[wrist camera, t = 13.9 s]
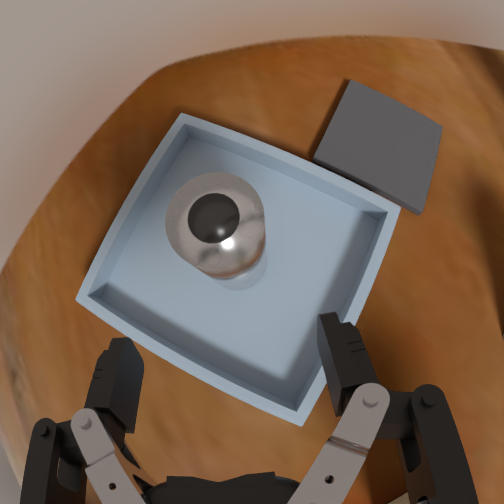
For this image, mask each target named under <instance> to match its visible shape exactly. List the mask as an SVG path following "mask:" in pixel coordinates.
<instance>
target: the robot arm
mask: <svg viewBox="0 0 504 504" xmlns="http://www.w3.org/2000/svg"><path fill="white" fill-rule="evenodd" d="M317 345H318V350H319V354H320V358H321V362H322V365H323V369H324V373H325V377H326V380H327V384H328V388H329V392H330V396H331V400H332V403H333V407H334V411H335V415H336V417H338V416H342V417H341V419H340V421H339V423H338V425H337V427H336V429H335V430H334V432H333V434H332V436H331V437H330V438H329V439H328V440H327V441H326V443H325V445H324V446H323V448H322V450H321V451H320V453H319V455H318V456H317V458H316V460H315V461H314V463H313V465H312V466H311V468H310V470H309V471H308V473H307V474H306V476H305V477H304V479H303V481H302V482H301V483H299V482H297V481H295V480H292V479H289V478H284V477H278V476H275V472H266V473H257V474H246V475H243V476H240V477H237V478H233V479H230V480H226V481H223V482H214V481H209V480H204V479H200V478H196V477H183V476H167V481H166V482H163V483H160V484H158V485H157V483H156V482H155V481H154V480H153V479H152V478H151V477H150V476H149V475H148V474H147V472H146V471H145V470H144V468H143V467H142V465H141V464H140V462H139V461H138V459H137V458H136V456H135V455H134V453H133V452H132V450H131V448H130V447H129V445H128V444H127V442H126V441H125V440H124V438H125V433H134V430H135V423H136V416H137V410H138V403H139V397H140V391H141V385H142V380H143V374H144V363H143V359H142V357H141V355H140V354H139V352H138V350H137V349H136V347H135V345H134V344H133V342H132V340H131V339H130V338H129V337H123V338H113V339H112V340H111V342H110V346H109V349H108V350H104V351H103V353H102V354H101V355H100V357H99V358H98V360H97V363H96V367H95V371H94V373H93V379H92V380H91V384H90V387H89V391H88V395H87V399H86V402H85V406H84V409H81V410H79V411H78V412H76V413H75V414H74V416H73V417H72V420H69V421H65V422H61V423H57V424H56V423H55V422H54V421H53V420H51V419H49V418H43V419H40V420H39V421H38V422H37V423H36V424H35V426H34V428H33V431H32V436H31V440H30V445H29V450H28V455H27V460H26V465H25V471H24V477H23V484H22V491H21V498H20V504H85V496H86V483H87V476H88V478H89V480H90V482H91V484H92V486H93V488H94V490H95V492H96V493H97V495H98V497H99V499H100V501H101V502H102V504H342V502H343V500H344V498H345V497H346V495H347V493H348V491H349V490H350V488H351V486H352V484H353V482H354V480H355V479H356V477H357V475H358V473H359V471H360V469H361V467H362V465H363V463H364V461H365V459H366V457H367V455H368V452H369V449H370V447H371V445H372V443H373V441H374V439H395V440H396V443H397V448H398V452H399V456H400V460H401V464H402V469H403V473H404V478H405V482H406V487H407V492H408V497H409V502H410V504H479V503H478V499H477V495H476V491H475V487H474V483H473V479H472V476H471V472H470V469H469V465H468V462H467V459H466V455H465V452H464V449H463V446H462V443H461V440H460V437H459V434H458V431H457V428H456V425H455V422H454V419H453V417H452V414H451V411H450V408H449V406H448V403H447V400H446V398H445V395H444V393H443V392H442V390H441V389H440V388H438V387H437V386H435V385H430V384H425V385H422V386H419V387H418V388H417V389H415V391H414V392H395V391H391V390H388V389H386V388H385V387H383V386H382V385H381V384H380V382H379V381H378V379H377V376H376V374H375V371H374V368H373V366H372V363H371V361H370V358H369V356H368V353H367V350H366V348H365V345H364V343H363V342H362V338H361V335H360V333H359V331H358V329H357V328H356V327H355V326H354V325H353V324H352V323H351V322H345V323H340V321H339V318H338V315H337V313H336V312H335V311H334V312H329V313H323V314H318V316H317ZM59 458H60V461H59ZM58 462H59V468H58ZM57 469H58V475H57Z"/></svg>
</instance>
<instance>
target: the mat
mask: <svg viewBox="0 0 504 504" xmlns="http://www.w3.org/2000/svg"><path fill="white" fill-rule="evenodd" d="M442 128H443V127H442V126H441V125H439V124H438V123H436V122H434V121H432V120H431V119H429V118H427V117H426V116H424V115H422V114H420V113H418V112H417V111H415V110H413V109H411V108H409V107H407V106H406V105H404V104H402V103H400V102H398V101H396V100H394V99H392V98H390V97H388V96H386V95H384V94H382V93H380V92H378V91H376V90H373V89H371V88H369V87H367V86H365V85H362V84H360V83H358V82H356V81H353V80H350V82H349V84H348V86H347V88H346V90H345V92H344V95H343V97H342V99H341V101H340V103H339V105H338V107H337V109H336V111H335V113H334V116H333V118H332V120H331V122H330V124H329V126H328V128H327V130H326V132H325V134H324V136H323V138H322V140H321V143H320V145H319V147H318V149H317V151H316V153H315V155H314V157H313V160H312V162H314V163H316V164H318V165H320V166H323V167H325V168H327V169H329V170H331V171H333V172H335V173H338V174H340V175H342V176H344V177H346V178H348V179H350V180H352V181H354V182H356V183H358V184H360V185H362V186H364V187H366V188H368V189H370V190H372V191H374V192H376V193H378V194H380V195H382V196H384V197H385V198H387V199H389V200H391V201H393V202H395V203H397V204H398V205H400V206H402V207H404V208H406V209H408V210H409V211H411V212H413V213H415V214H416V215H420V214H421V213H422V212H423V209H424V205H425V201H426V198H427V194H428V190H429V187H430V183H431V179H432V175H433V170H434V166H435V162H436V157H437V153H438V148H439V143H440V138H441V133H442Z"/></svg>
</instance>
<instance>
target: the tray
mask: <svg viewBox="0 0 504 504" xmlns="http://www.w3.org/2000/svg"><path fill="white" fill-rule="evenodd" d="M212 172H223V173H229V174H233V175H236V176H238V177H240V178H242V179H244V180H245V181H247V182H248V183H249V184H250V185H251V186H252V187H253V188H254V189H255V190H256V192H257V193H258V195H259V197H260V199H261V201H262V204H263V208H264V216H265V232H266V249H267V267H266V271H265V273H264V275H263V277H262V278H261V280H260V281H259V282H258V283H257V284H255V285H254V286H252V287H251V288H248V289H245V290H230V289H227V288H225V287H223V286H221V285H220V284H218V283H217V282H215V281H214V280H213V279H211V278H210V277H208V276H207V275H205V274H204V273H202V272H201V271H199V270H198V269H197V268H195V267H194V266H192V265H191V264H189V263H188V262H186V261H185V260H184V259H182V258H181V257H180V256H179V255H178V254H177V253H176V252H175V251H174V249H173V248H172V246H171V244H170V242H169V240H168V237H167V234H166V229H165V218H166V212H167V209H168V206H169V203H170V201H171V199H172V198H173V196H174V195H175V193H176V192H177V191H178V190H179V189H180V188H181V187H182V186H183V185H184V184H185V183H187V182H188V181H189V180H191V179H193V178H195V177H197V176H199V175H203V174H206V173H212ZM400 210H401V207H400V206H398V205H396V204H394V203H392V202H390V201H389V200H387V199H385V198H383V197H381V196H379V195H377V194H375V193H373V192H371V191H369V190H367V189H365V188H363V187H361V186H359V185H357V184H355V183H353V182H351V181H349V180H347V179H345V178H343V177H341V176H339V175H337V174H335V173H333V172H330V171H328V170H326V169H324V168H322V167H320V166H317V165H315V164H313V163H311V162H309V161H306V160H304V159H302V158H300V157H297V156H295V155H293V154H290V153H288V152H286V151H283V150H281V149H278V148H276V147H274V146H271V145H269V144H266V143H264V142H261V141H259V140H256V139H254V138H251V137H249V136H246V135H243V134H241V133H238V132H235V131H233V130H230V129H227V128H225V127H222V126H219V125H216V124H213V123H211V122H208V121H205V120H202V119H199V118H196V117H193V116H190V115H187V114H184V113H181V114H180V115H179V117H178V118H177V119H176V121H175V122H174V124H173V125H172V127H171V128H170V130H169V131H168V132H167V134H166V135H165V137H164V138H163V140H162V141H161V143H160V144H159V146H158V147H157V149H156V150H155V152H154V154H153V155H152V157H151V158H150V160H149V161H148V163H147V165H146V166H145V168H144V169H143V171H142V173H141V174H140V176H139V178H138V179H137V181H136V183H135V184H134V186H133V188H132V189H131V191H130V193H129V194H128V196H127V198H126V200H125V201H124V203H123V205H122V207H121V208H120V210H119V212H118V214H117V216H116V217H115V219H114V221H113V223H112V225H111V227H110V229H109V231H108V232H107V234H106V236H105V238H104V240H103V242H102V244H101V246H100V248H99V250H98V252H97V254H96V256H95V258H94V260H93V262H92V264H91V266H90V268H89V271H88V273H87V275H86V277H85V279H84V281H83V284H82V286H81V288H80V290H79V293H78V295H77V297H76V299H75V300H76V301H77V302H79V303H80V304H81V305H83V306H84V307H85V308H87V309H88V310H90V311H91V312H92V313H94V314H95V315H97V316H98V317H99V318H101V319H102V320H104V321H105V322H107V323H108V324H110V325H111V326H112V327H114V328H115V329H117V330H118V331H120V332H121V333H123V334H125V335H126V336H128V337H129V338H131V339H132V340H134V341H135V342H137V343H139V344H140V345H142V346H143V347H145V348H147V349H148V350H150V351H151V352H153V353H155V354H156V355H158V356H160V357H161V358H163V359H165V360H166V361H168V362H170V363H172V364H173V365H175V366H177V367H179V368H180V369H182V370H184V371H186V372H188V373H189V374H191V375H193V376H195V377H197V378H199V379H200V380H202V381H204V382H206V383H208V384H210V385H212V386H214V387H216V388H218V389H220V390H221V391H223V392H225V393H227V394H229V395H231V396H234V397H236V398H238V399H240V400H242V401H244V402H246V403H248V404H250V405H252V406H255V407H257V408H259V409H261V410H263V411H266V412H268V413H270V414H272V415H275V416H277V417H279V418H282V419H284V420H286V421H289V422H291V423H294V424H296V425H299V426H301V427H302V426H303V424H304V422H305V420H306V419H307V417H308V415H309V414H310V412H311V410H312V408H313V407H314V405H315V403H316V401H317V399H318V398H319V396H320V394H321V392H322V390H323V388H324V387H325V385H326V383H327V380H326V377H325V373H324V369H323V365H322V362H321V358H320V354H319V350H318V345H317V316H318V314H323V313H329V312H334V311H335V312H336V313H337V315H338V318H339V321H340V323H345V322H351V323H352V324H353V325H354V326H355V324H356V322H357V320H358V318H359V315H360V313H361V311H362V309H363V306H364V304H365V302H366V299H367V297H368V295H369V292H370V290H371V288H372V285H373V283H374V280H375V278H376V275H377V273H378V270H379V268H380V265H381V263H382V260H383V257H384V255H385V252H386V249H387V247H388V244H389V241H390V239H391V236H392V233H393V230H394V227H395V224H396V221H397V218H398V216H399V213H400Z"/></svg>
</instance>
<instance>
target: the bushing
mask: <svg viewBox="0 0 504 504" xmlns="http://www.w3.org/2000/svg"><path fill="white" fill-rule="evenodd" d="M165 229H166V234H167V237H168V240H169V242H170V244H171V246H172V248H173V249H174V251H175V252H176V253H177V254H178V255H179V256H180V257H181V258H182V259H184V260H185V261H186V262H188V263H189V264H191V265H192V266H194V267H195V268H197V269H198V270H199V271H201V272H202V273H204V274H205V275H207V276H208V277H210V278H211V279H213V280H214V281H215V282H217V283H218V284H220V285H221V286H223V287H225V288H227V289H230V290H245V289H248V288H251V287H252V286H254V285H255V284H257V283H258V282H259V281H260V280H261V278H262V277H263V275H264V273H265V271H266V267H267V249H266V232H265V216H264V208H263V204H262V201H261V199H260V197H259V195H258V193H257V192H256V190H255V189H254V188H253V187H252V186H251V185H250V184H249V183H248V182H247V181H245V180H244V179H242V178H240V177H238V176H236V175H233V174H229V173H223V172H212V173H206V174H203V175H199V176H197V177H195V178H193V179H191V180H189V181H188V182H187V183H185V184H184V185H183V186H182V187H181V188H180V189H179V190H178V191H177V192H176V193H175V195H174V196H173V198H172V199H171V201H170V203H169V206H168V209H167V212H166V218H165Z"/></svg>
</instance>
